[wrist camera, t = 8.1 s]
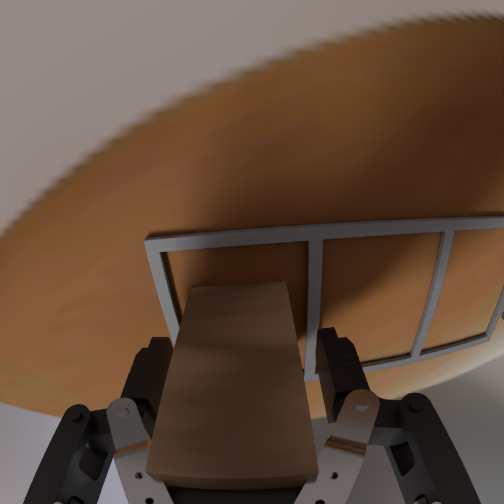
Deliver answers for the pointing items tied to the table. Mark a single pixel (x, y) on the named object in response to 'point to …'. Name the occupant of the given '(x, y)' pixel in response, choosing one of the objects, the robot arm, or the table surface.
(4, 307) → the table surface
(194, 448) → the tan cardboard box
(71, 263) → the table surface
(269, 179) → the table surface
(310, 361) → the frame
